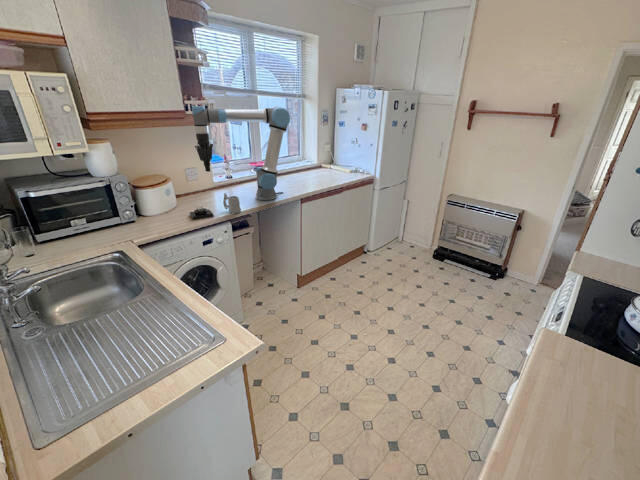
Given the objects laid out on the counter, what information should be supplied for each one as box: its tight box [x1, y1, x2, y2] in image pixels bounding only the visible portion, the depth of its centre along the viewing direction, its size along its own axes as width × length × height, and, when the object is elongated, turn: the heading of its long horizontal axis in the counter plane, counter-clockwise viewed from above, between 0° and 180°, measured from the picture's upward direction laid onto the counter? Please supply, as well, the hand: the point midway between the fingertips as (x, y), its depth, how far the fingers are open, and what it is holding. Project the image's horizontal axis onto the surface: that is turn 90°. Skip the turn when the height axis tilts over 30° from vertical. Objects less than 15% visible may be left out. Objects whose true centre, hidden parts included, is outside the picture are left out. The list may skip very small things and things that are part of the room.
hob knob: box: [196, 206, 205, 211], centre depth 201 cm, size 4×4×2 cm
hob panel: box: [189, 207, 214, 221], centre depth 202 cm, size 12×10×4 cm
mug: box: [222, 192, 242, 214], centre depth 210 cm, size 8×12×12 cm, turn 75°
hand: (208, 171), depth 210 cm, fingers closed
